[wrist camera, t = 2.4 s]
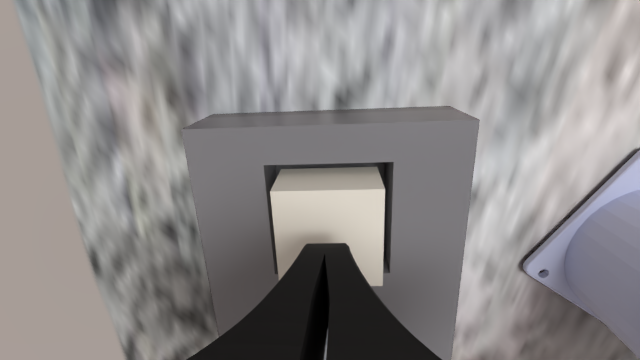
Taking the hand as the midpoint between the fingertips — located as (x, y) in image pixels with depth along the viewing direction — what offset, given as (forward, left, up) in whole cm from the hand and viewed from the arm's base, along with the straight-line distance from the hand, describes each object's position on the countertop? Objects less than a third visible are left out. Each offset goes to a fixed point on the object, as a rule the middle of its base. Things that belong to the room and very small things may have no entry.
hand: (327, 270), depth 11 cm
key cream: (0, 0, -4) cm, 4 cm away
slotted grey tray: (-4, +6, -7) cm, 10 cm away
